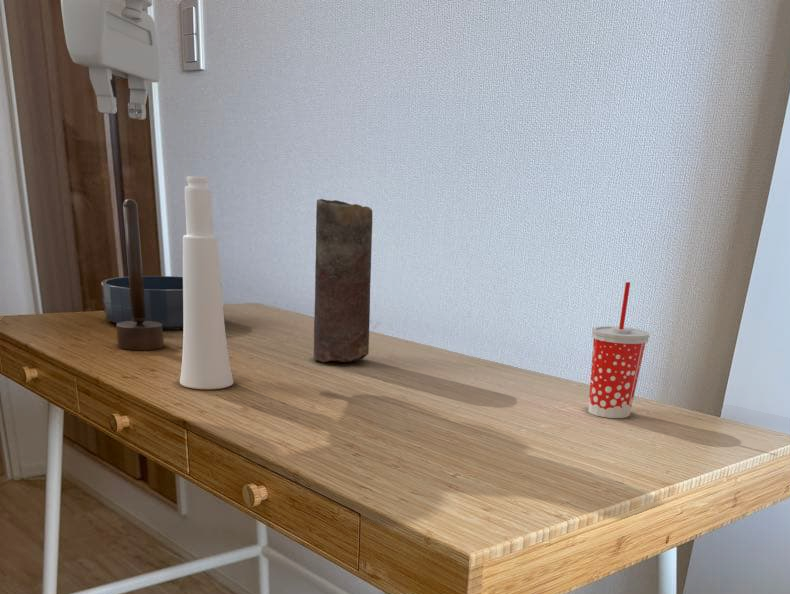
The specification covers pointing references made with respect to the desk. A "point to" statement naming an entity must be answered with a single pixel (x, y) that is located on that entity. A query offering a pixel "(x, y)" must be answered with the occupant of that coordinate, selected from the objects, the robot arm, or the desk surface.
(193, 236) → the cosmetic bottle
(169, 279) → the bowl
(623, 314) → the beverage cup
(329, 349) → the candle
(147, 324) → the ladle
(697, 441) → the desk surface
